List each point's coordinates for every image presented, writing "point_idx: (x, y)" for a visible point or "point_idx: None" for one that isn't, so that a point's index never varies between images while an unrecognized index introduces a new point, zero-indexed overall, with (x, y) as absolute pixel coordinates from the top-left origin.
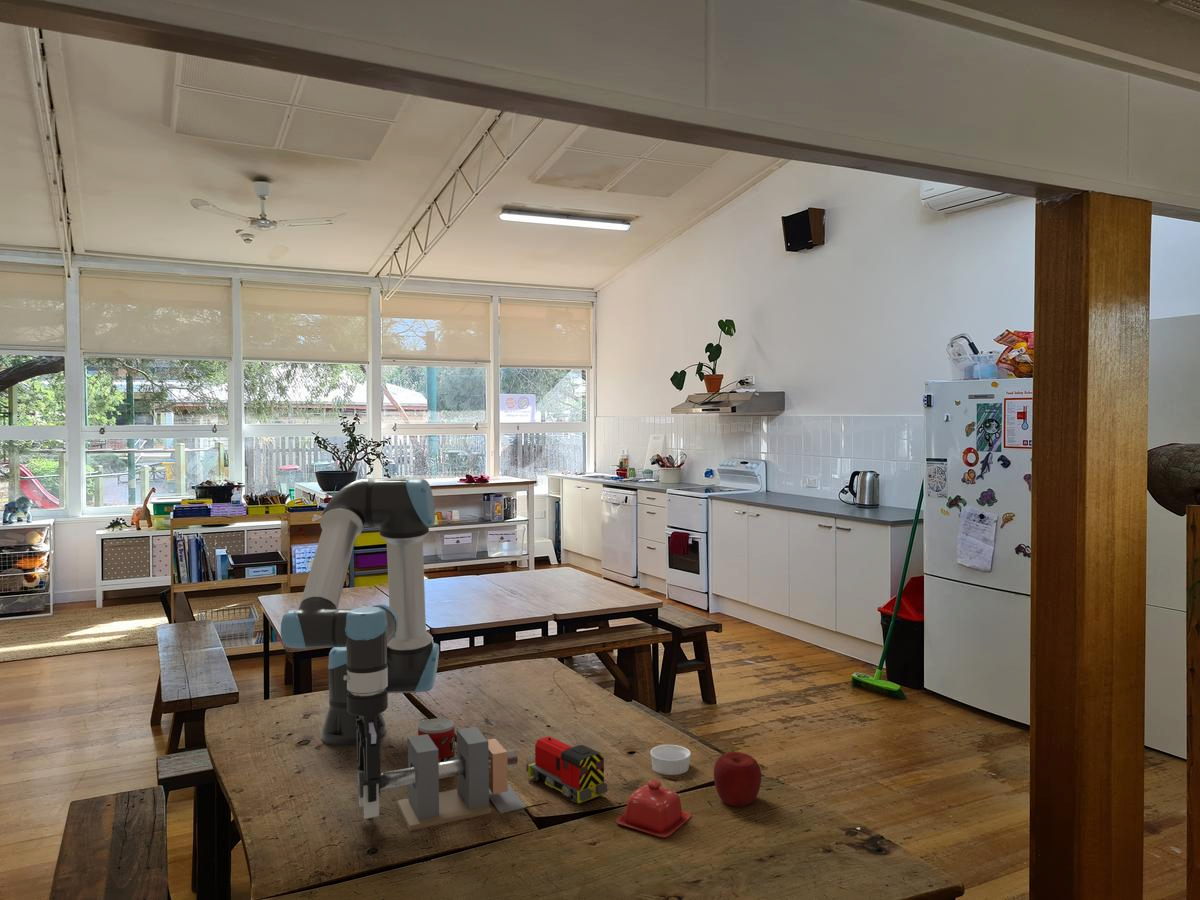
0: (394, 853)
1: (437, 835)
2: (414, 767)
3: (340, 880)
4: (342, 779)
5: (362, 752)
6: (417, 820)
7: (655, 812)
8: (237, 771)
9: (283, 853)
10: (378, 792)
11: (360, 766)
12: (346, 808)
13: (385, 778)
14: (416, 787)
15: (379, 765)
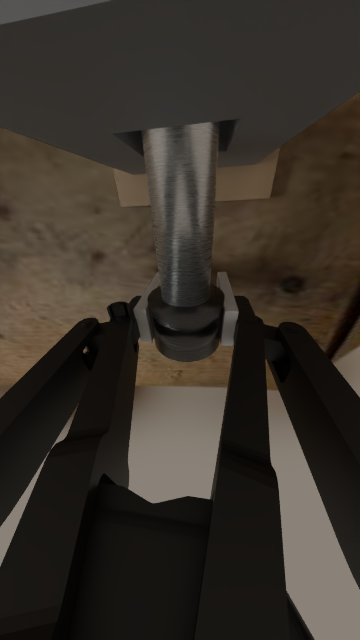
0: (336, 250)
1: (345, 110)
2: (226, 119)
3: (343, 335)
4: (11, 290)
5: (131, 392)
6: (253, 168)
7: None
8: (12, 378)
9: (221, 371)
10: (233, 295)
11: (138, 351)
12: (120, 299)
13: (206, 282)
14: (253, 144)
15: (347, 386)
